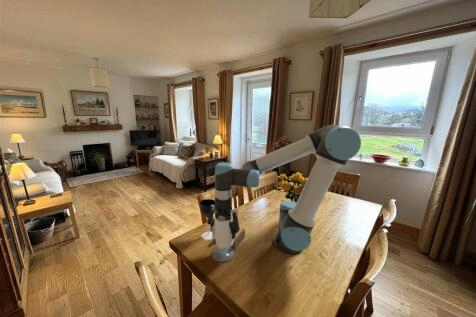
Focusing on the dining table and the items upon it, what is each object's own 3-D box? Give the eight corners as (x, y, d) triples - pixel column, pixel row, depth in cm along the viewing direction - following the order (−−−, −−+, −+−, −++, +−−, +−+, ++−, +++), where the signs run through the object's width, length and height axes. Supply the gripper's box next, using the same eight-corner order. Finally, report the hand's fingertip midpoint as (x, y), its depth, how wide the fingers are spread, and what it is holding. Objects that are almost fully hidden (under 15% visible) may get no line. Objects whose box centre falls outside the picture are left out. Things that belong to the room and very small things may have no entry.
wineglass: (213, 241, 101) (213, 206, 97) (198, 238, 103) (197, 204, 99) (218, 232, 109) (218, 200, 105) (203, 230, 111) (203, 198, 106)
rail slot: (244, 236, 105) (245, 229, 104) (235, 250, 95) (235, 242, 94) (225, 230, 110) (226, 224, 109) (214, 242, 100) (214, 235, 99)
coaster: (238, 250, 95) (238, 249, 94) (227, 265, 85) (227, 264, 85) (219, 243, 99) (219, 242, 99) (207, 257, 90) (207, 256, 89)
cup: (217, 252, 86) (217, 222, 83) (213, 242, 93) (213, 214, 90) (232, 248, 89) (233, 219, 86) (227, 239, 96) (227, 212, 93)
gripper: (248, 198, 84) (246, 243, 89) (208, 189, 93) (208, 230, 98) (241, 205, 78) (240, 253, 83) (198, 195, 87) (199, 238, 92)
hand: (222, 240), depth 91 cm, fingers closed on cup, 9 cm apart
